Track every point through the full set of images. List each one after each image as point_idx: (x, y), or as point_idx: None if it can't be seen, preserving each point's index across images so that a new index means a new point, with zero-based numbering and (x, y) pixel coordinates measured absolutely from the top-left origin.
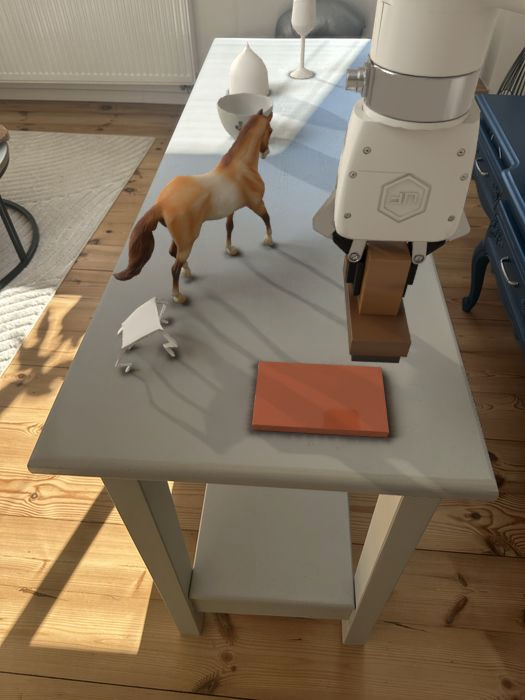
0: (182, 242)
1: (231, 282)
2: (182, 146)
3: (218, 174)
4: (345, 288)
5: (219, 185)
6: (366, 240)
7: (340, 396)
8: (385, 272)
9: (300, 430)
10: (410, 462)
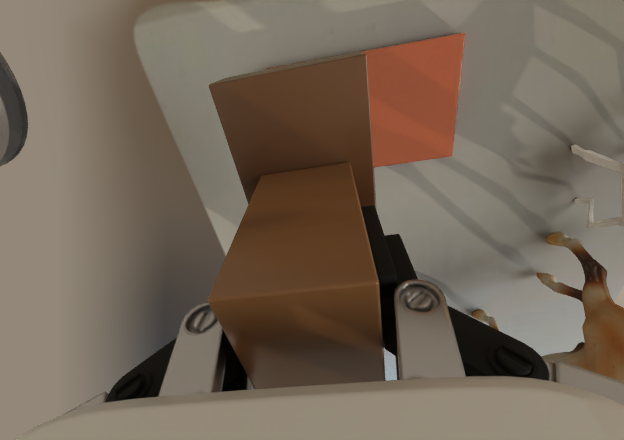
0: (617, 312)
1: (481, 273)
2: None
3: None
4: None
5: None
6: (404, 370)
7: None
8: (302, 249)
9: (387, 46)
10: (229, 30)
